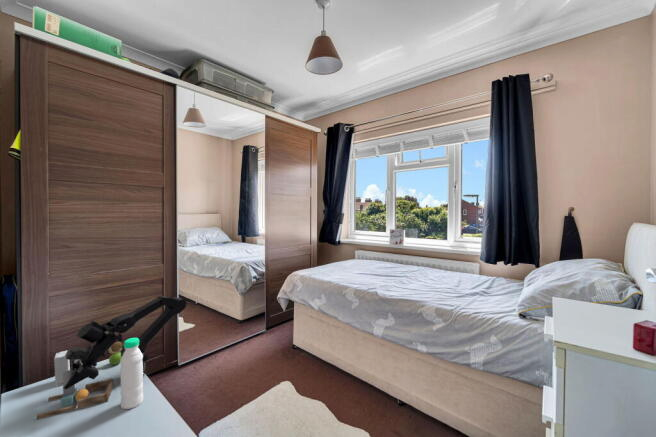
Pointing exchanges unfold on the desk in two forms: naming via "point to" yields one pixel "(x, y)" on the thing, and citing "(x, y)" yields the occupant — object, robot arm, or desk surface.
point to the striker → (68, 390)
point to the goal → (85, 401)
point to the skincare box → (60, 366)
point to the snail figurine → (115, 353)
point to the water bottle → (131, 374)
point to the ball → (81, 394)
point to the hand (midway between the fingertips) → (64, 386)
